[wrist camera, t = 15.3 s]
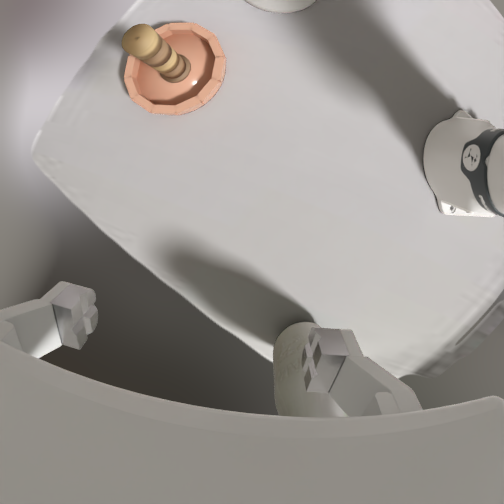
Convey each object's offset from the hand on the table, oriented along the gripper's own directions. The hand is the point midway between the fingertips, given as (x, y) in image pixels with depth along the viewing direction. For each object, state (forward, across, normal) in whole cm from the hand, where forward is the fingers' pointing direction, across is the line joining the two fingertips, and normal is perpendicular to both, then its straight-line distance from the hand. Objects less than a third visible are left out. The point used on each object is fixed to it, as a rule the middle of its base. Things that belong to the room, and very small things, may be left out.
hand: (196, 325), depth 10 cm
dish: (+33, +12, -16) cm, 39 cm away
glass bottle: (+33, -14, +24) cm, 43 cm away
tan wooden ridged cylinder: (+32, +12, -16) cm, 38 cm away
